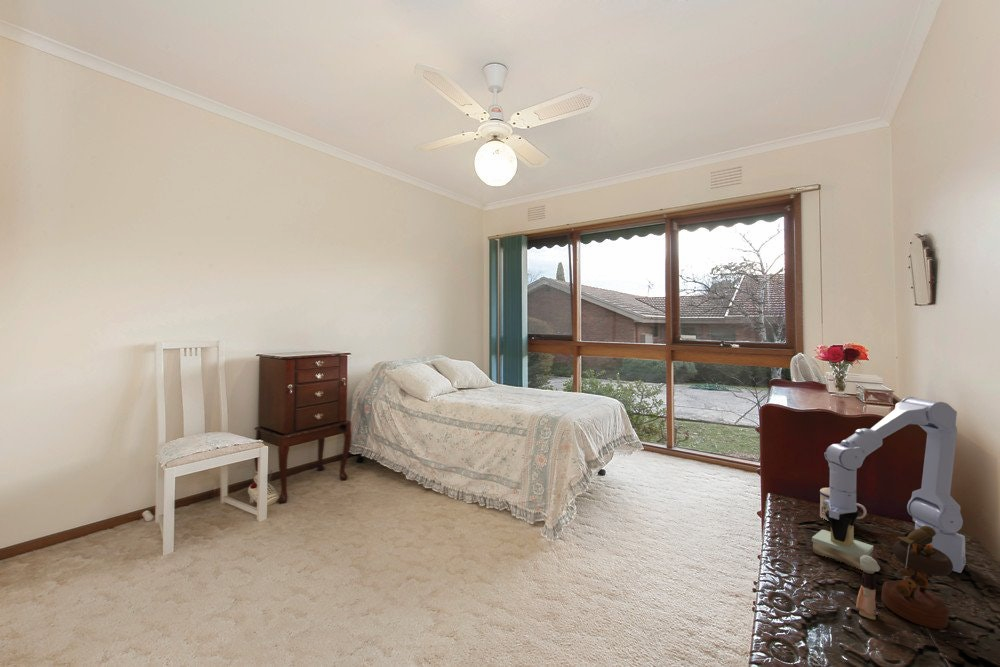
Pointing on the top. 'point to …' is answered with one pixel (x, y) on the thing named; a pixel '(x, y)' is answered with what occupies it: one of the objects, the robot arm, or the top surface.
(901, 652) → the top surface
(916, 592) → the music box
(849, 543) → the lid
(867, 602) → the grandmother figurine
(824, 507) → the teacup with lid
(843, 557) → the box
